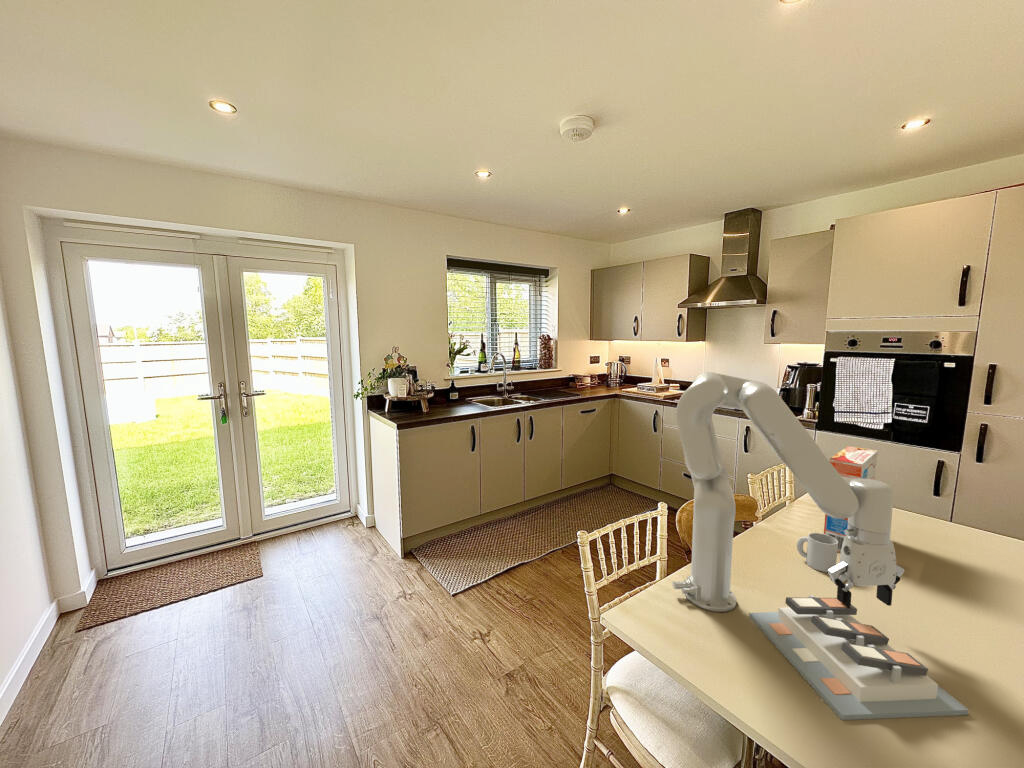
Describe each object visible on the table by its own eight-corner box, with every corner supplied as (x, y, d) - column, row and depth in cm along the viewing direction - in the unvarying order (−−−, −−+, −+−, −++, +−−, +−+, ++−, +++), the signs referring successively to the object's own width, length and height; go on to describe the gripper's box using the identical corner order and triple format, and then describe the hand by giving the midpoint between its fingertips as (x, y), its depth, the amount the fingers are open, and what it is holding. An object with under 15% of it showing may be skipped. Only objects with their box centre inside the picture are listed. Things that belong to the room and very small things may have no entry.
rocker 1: (797, 614, 95) (798, 607, 95) (785, 603, 99) (786, 596, 99) (856, 614, 95) (857, 608, 95) (842, 603, 99) (842, 597, 99)
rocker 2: (825, 634, 87) (827, 627, 87) (810, 621, 91) (812, 614, 91) (887, 645, 88) (889, 638, 87) (870, 631, 92) (872, 625, 91)
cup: (833, 576, 120) (835, 547, 119) (792, 562, 127) (794, 535, 126) (838, 566, 125) (840, 538, 124) (798, 554, 132) (800, 527, 131)
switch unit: (841, 719, 76) (844, 684, 75) (749, 616, 103) (750, 589, 103) (968, 714, 76) (972, 679, 75) (842, 613, 104) (845, 586, 103)
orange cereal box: (853, 556, 130) (862, 464, 127) (822, 546, 137) (829, 458, 133) (869, 533, 145) (877, 450, 142) (841, 525, 151) (847, 446, 148)
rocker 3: (858, 664, 79) (860, 657, 79) (840, 649, 83) (843, 641, 83) (925, 676, 80) (928, 668, 79) (905, 659, 84) (908, 652, 83)
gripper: (845, 543, 91) (840, 615, 93) (921, 539, 92) (915, 611, 94) (819, 527, 99) (815, 595, 101) (889, 524, 99) (884, 591, 101)
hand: (863, 603), depth 97 cm, fingers open, 9 cm apart
